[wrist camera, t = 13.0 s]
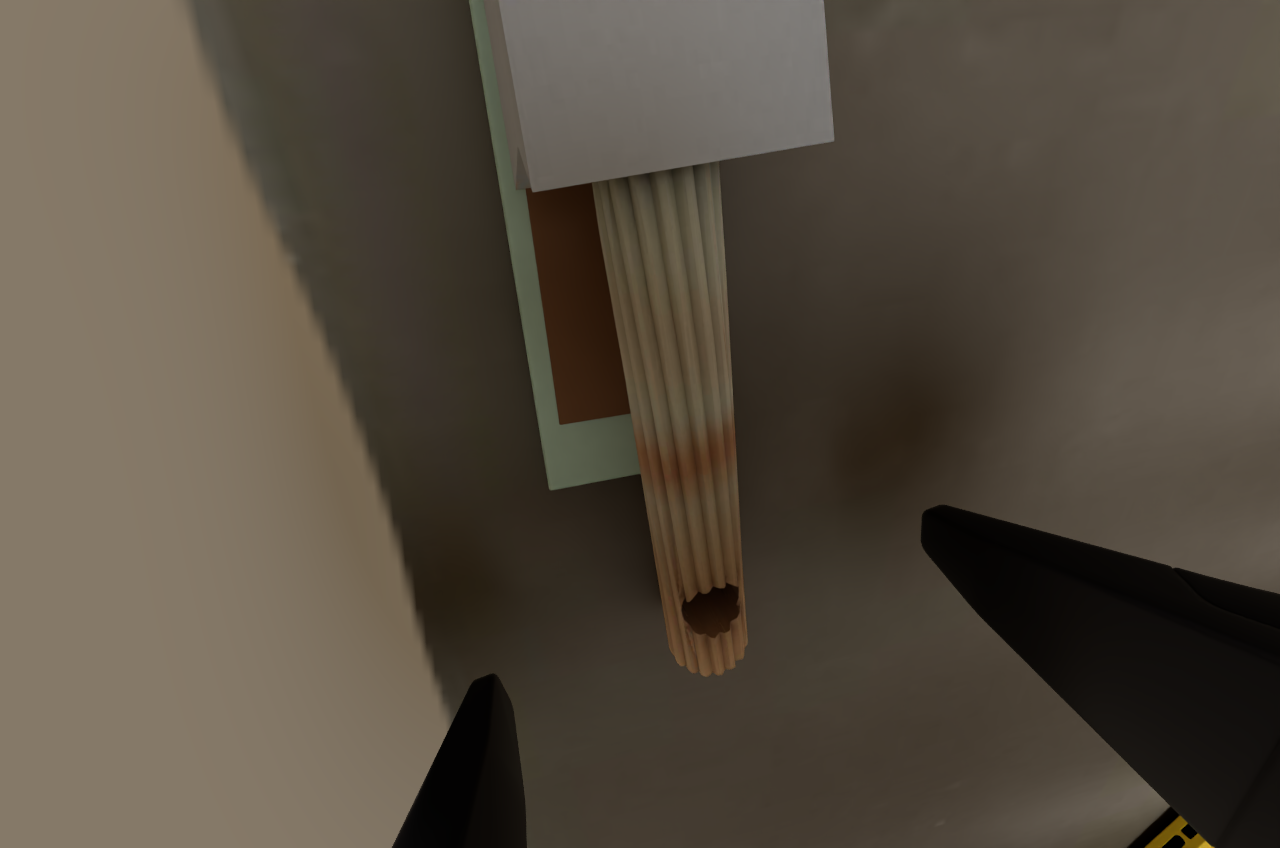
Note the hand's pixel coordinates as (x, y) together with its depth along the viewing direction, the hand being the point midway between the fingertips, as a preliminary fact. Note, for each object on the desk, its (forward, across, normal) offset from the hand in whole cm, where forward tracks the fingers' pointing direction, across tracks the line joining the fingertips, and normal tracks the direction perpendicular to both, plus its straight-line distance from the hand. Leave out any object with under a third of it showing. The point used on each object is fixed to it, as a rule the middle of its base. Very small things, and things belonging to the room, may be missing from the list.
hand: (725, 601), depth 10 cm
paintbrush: (+2, 0, -7) cm, 8 cm away
